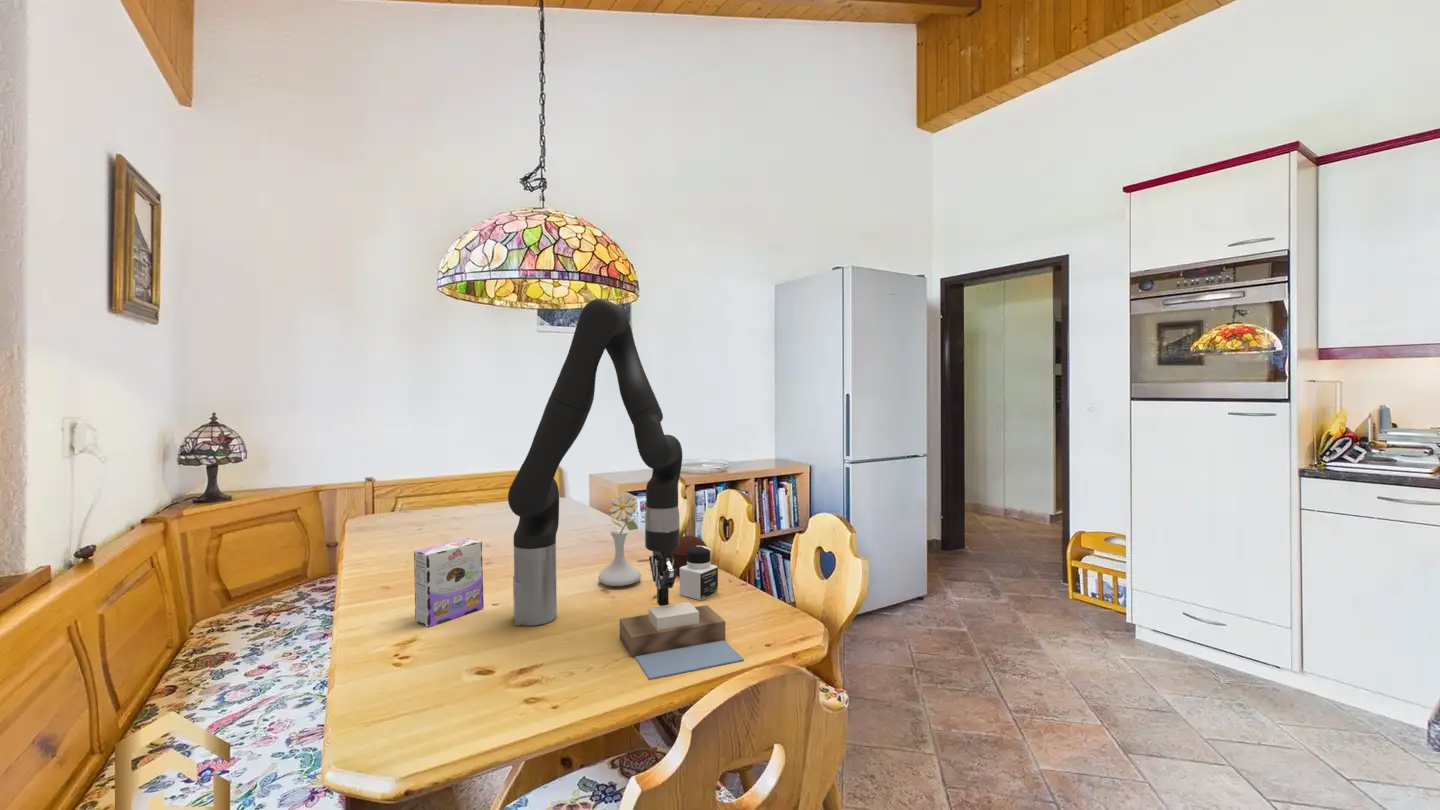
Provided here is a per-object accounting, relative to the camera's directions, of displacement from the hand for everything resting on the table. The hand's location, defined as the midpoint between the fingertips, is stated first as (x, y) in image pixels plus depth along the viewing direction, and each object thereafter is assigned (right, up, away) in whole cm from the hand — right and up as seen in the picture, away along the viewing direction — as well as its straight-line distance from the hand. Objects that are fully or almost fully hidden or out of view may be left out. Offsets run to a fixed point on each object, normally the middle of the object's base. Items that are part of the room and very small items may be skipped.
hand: (662, 604), depth 133 cm
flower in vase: (-14, -4, +29) cm, 33 cm away
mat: (+7, -6, -15) cm, 18 cm away
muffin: (+4, -4, +39) cm, 40 cm away
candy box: (-50, -5, +7) cm, 51 cm away
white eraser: (+3, -1, -7) cm, 8 cm away
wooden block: (+3, -5, -6) cm, 8 cm away
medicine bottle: (+7, -5, +21) cm, 23 cm away
